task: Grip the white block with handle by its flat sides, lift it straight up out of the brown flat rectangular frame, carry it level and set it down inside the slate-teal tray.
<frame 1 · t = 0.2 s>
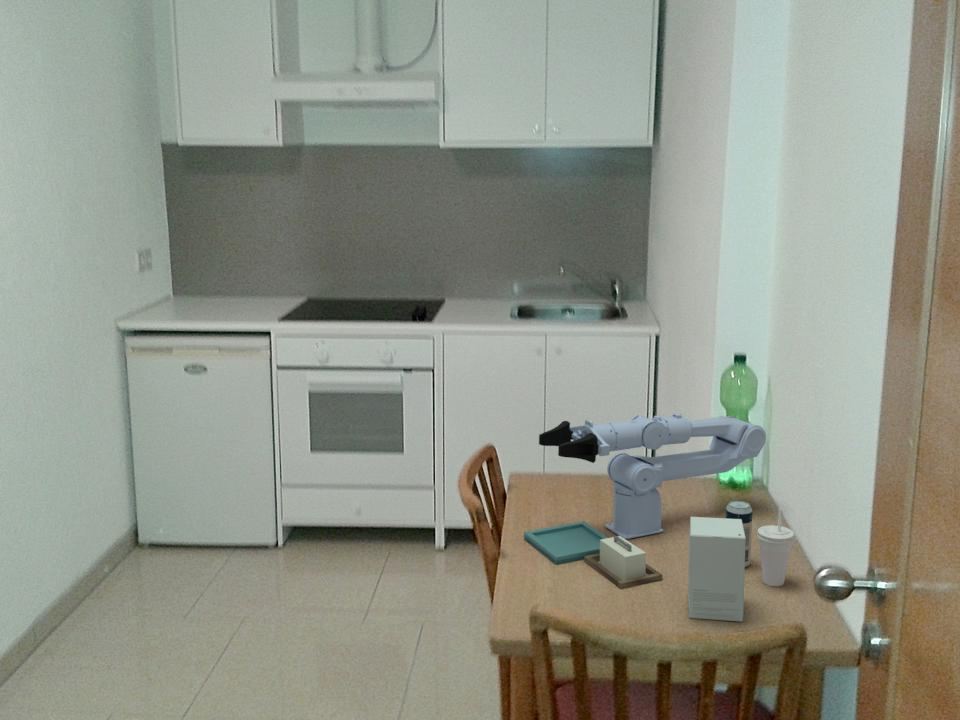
hand: (549, 445, 183), 21 cm above the table, tool horizontal, fingers open, 7 cm apart
tray: (570, 545, 188), on the table
beer can: (736, 565, 178), on the table
smoothie: (773, 582, 170), on the table
white block with handle: (622, 571, 176), resting in brown flat rectangular frame
supplement box: (714, 609, 160), on the table
brown flat rectangular frame: (622, 570, 176), on the table
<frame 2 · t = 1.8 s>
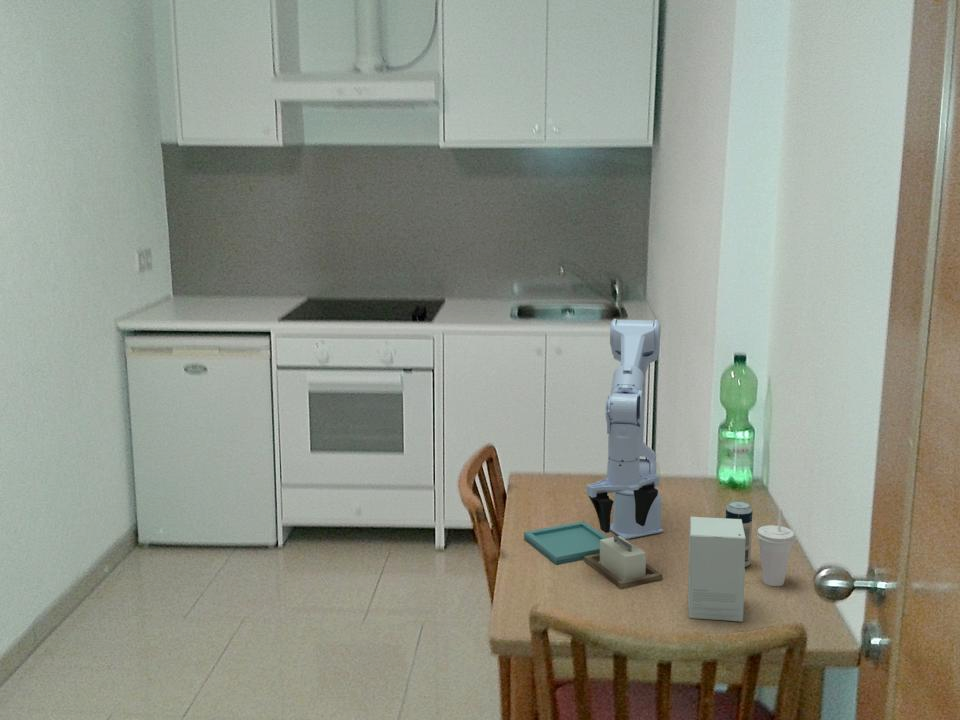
hand: (622, 527, 174), 9 cm above the table, tool pointing down, fingers open, 7 cm apart
nothing on the table moved.
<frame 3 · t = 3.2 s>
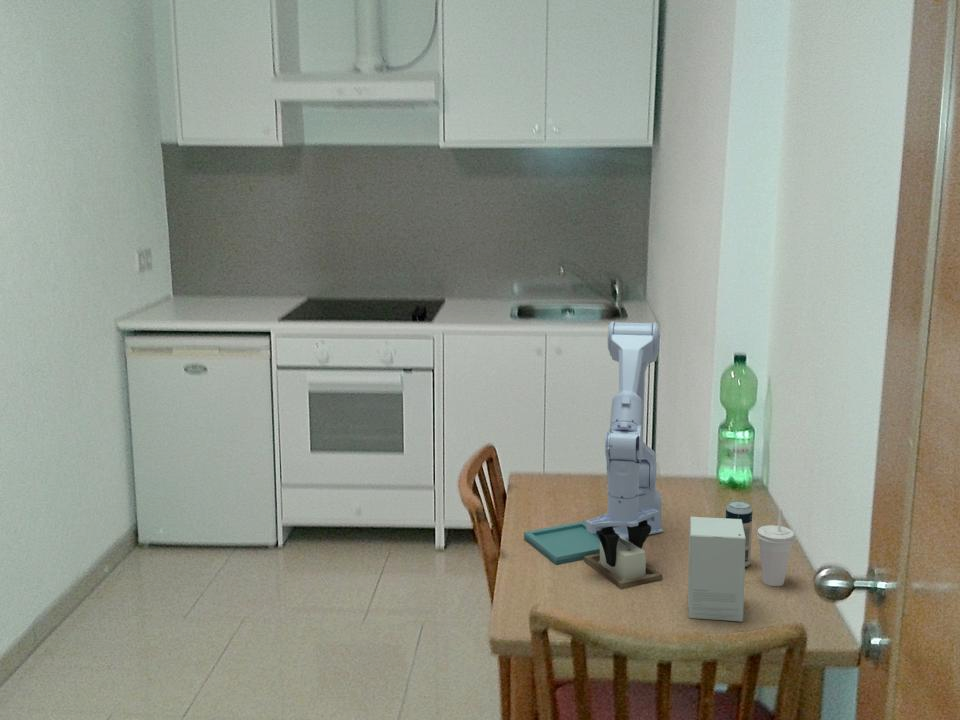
hand: (622, 562, 176), 2 cm above the table, tool pointing down, fingers closed on white block with handle, 4 cm apart
white block with handle: (622, 570, 176), resting in brown flat rectangular frame, touching gripper
everything else where it was.
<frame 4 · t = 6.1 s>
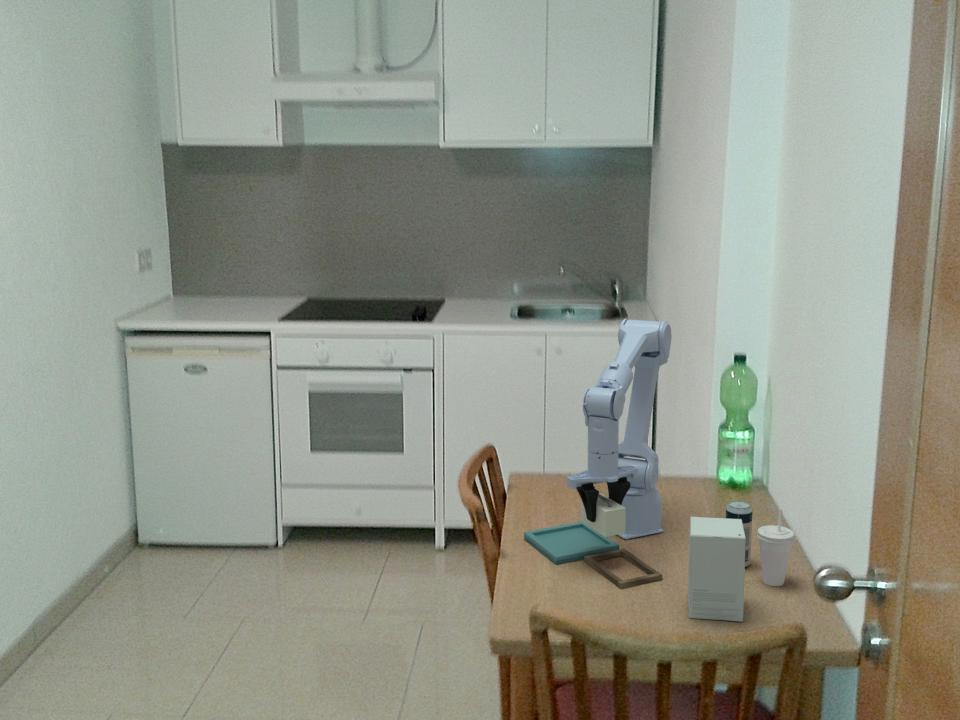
hand: (602, 518, 179), 9 cm above the table, tool pointing down, fingers closed on white block with handle, 4 cm apart
white block with handle: (602, 527, 179), point 7 cm above the table, touching gripper
everything else where it was.
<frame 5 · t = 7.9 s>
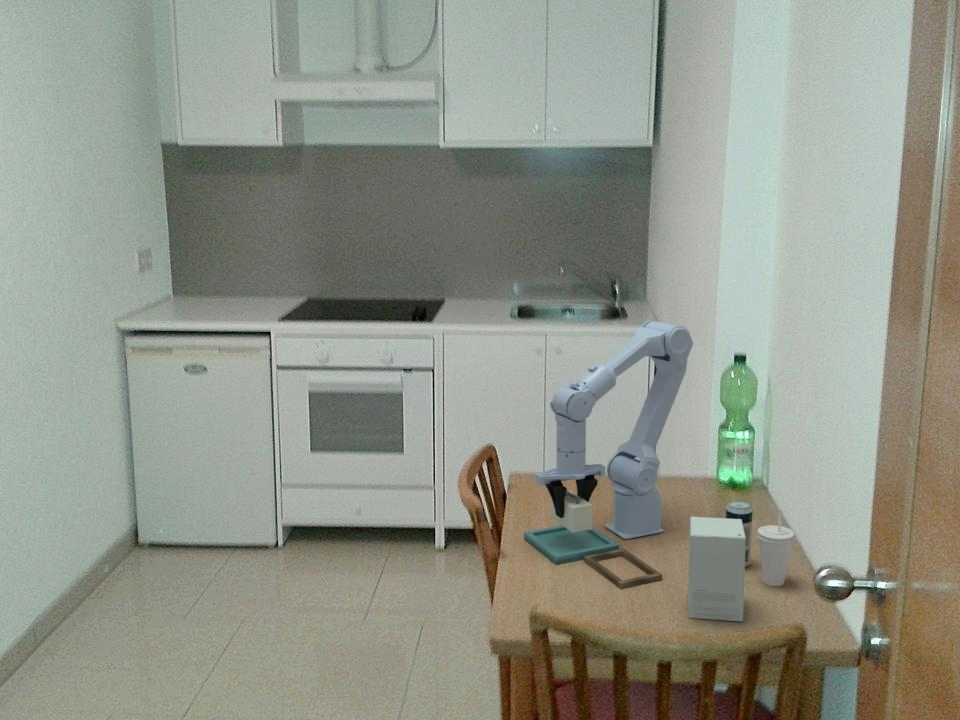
hand: (570, 514, 187), 7 cm above the table, tool pointing down, fingers closed on white block with handle, 4 cm apart
white block with handle: (571, 523, 187), point 5 cm above the table, touching gripper
everything else where it was.
when the fingers open (3 cm above the table, at t = 9.4 s): white block with handle stays where it is, resting on tray.
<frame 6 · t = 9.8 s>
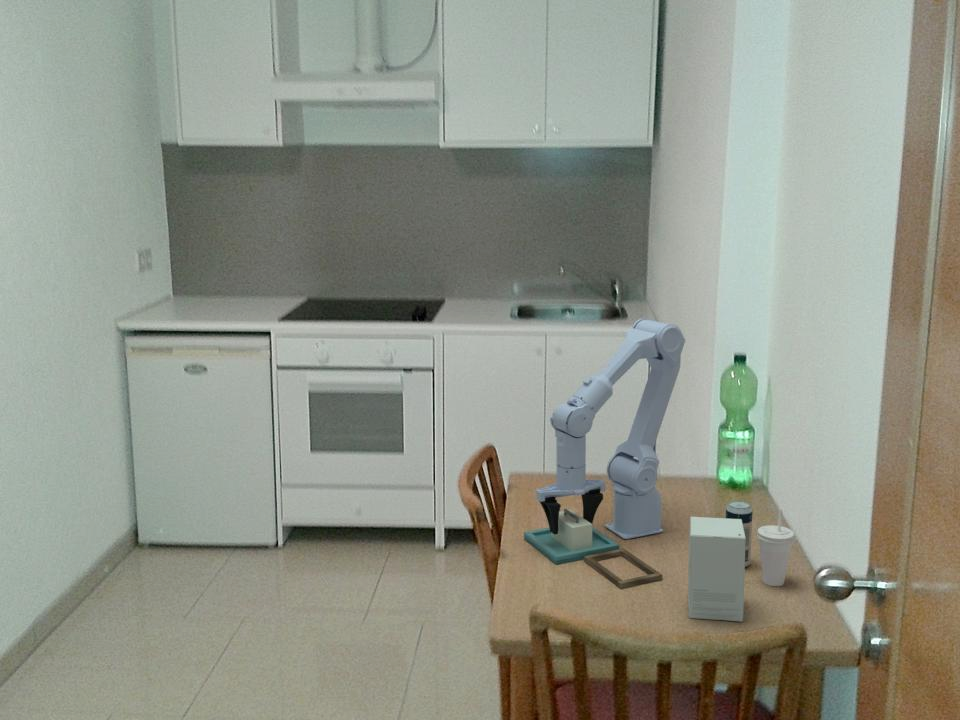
hand: (570, 529, 187), 3 cm above the table, tool pointing down, fingers open, 7 cm apart
white block with handle: (571, 542, 188), point 1 cm above the table, touching tray
everything else where it was.
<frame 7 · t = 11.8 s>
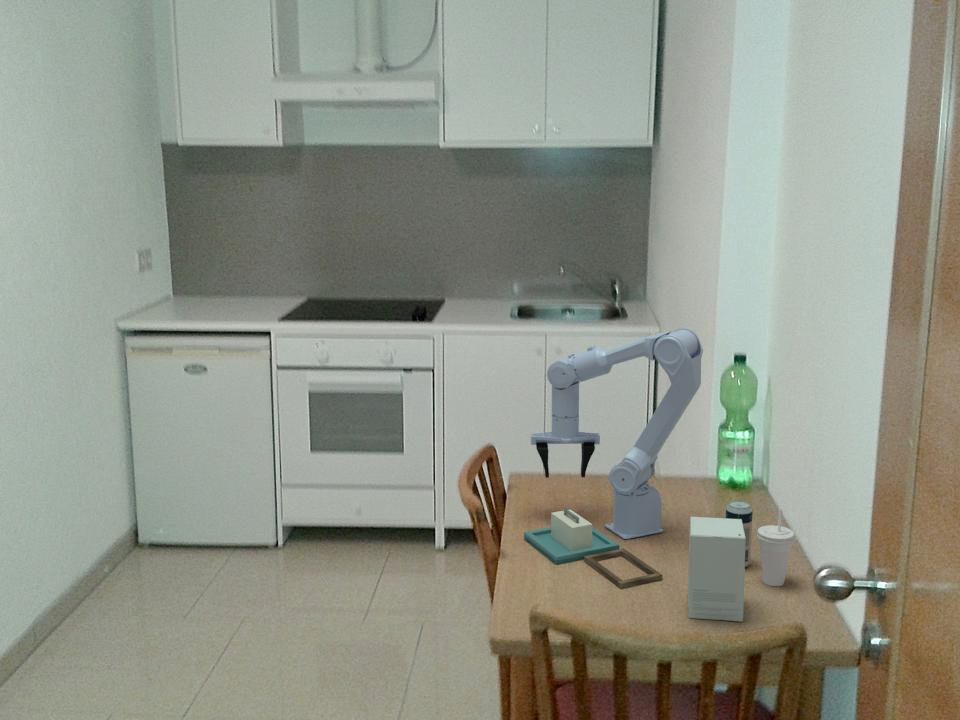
hand: (564, 476, 201), 9 cm above the table, tool pointing down, fingers open, 7 cm apart
nothing on the table moved.
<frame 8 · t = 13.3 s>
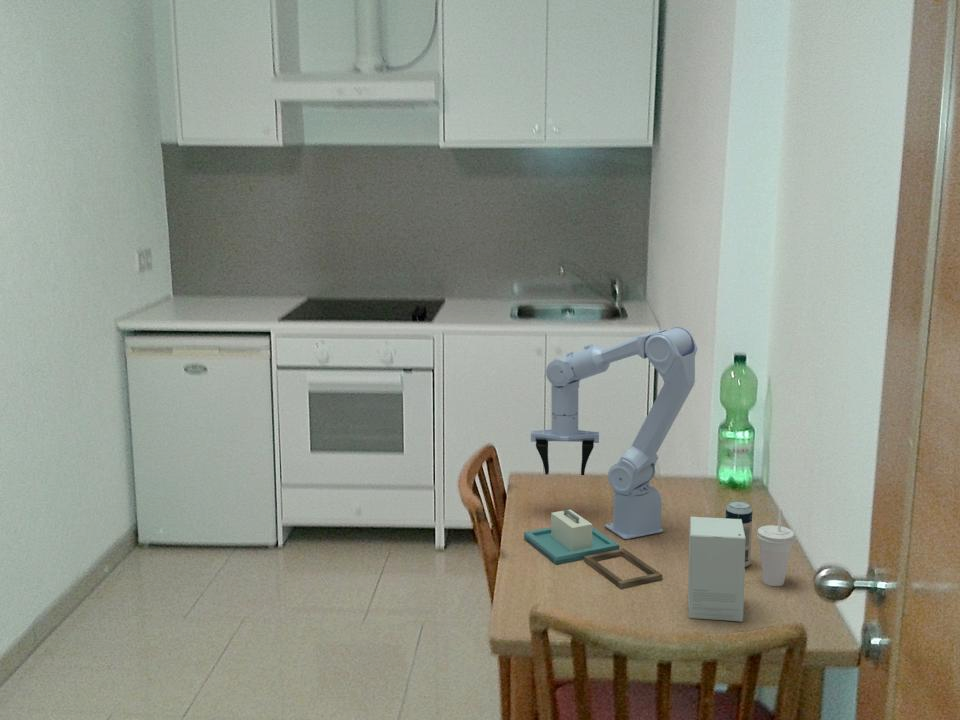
hand: (564, 473, 203), 9 cm above the table, tool pointing down, fingers open, 7 cm apart
nothing on the table moved.
at the end: white block with handle 0.2 cm off-centre on the tray, point 0.8 cm above the tray's base; white block with handle tilted 0°; the gripper is holding nothing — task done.
